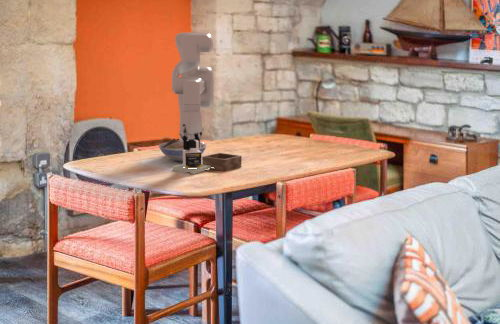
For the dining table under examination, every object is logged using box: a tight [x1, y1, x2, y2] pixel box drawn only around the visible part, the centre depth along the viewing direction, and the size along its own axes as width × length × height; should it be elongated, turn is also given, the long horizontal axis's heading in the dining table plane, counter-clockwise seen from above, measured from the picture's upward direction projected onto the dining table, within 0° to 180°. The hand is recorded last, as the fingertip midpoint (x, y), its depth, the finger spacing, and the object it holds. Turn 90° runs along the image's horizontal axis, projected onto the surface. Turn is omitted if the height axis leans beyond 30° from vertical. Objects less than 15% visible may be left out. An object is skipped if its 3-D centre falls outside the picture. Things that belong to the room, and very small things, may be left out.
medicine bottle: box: [182, 139, 202, 168], centre depth 335 cm, size 7×7×12 cm
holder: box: [201, 152, 243, 172], centre depth 343 cm, size 13×13×5 cm
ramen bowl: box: [158, 138, 208, 162], centre depth 358 cm, size 25×23×8 cm
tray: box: [171, 163, 211, 175], centre depth 336 cm, size 12×12×2 cm
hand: (191, 148), depth 334 cm, fingers closed on medicine bottle, 6 cm apart
